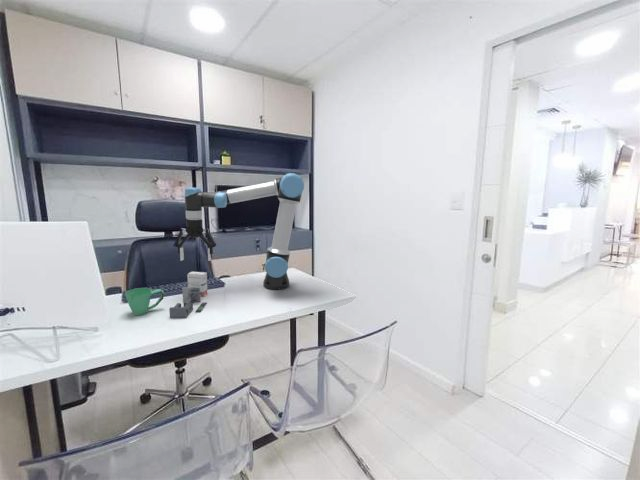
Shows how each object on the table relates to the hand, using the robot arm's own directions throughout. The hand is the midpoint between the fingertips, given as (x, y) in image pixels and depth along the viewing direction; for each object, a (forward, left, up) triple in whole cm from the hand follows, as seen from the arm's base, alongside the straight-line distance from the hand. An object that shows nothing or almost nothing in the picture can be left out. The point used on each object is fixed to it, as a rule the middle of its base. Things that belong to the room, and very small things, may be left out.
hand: (196, 260), depth 152 cm
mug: (+16, +21, -19) cm, 32 cm away
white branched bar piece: (-2, +13, -18) cm, 23 cm away
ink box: (0, 0, -19) cm, 19 cm away
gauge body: (-3, +19, -19) cm, 27 cm away
